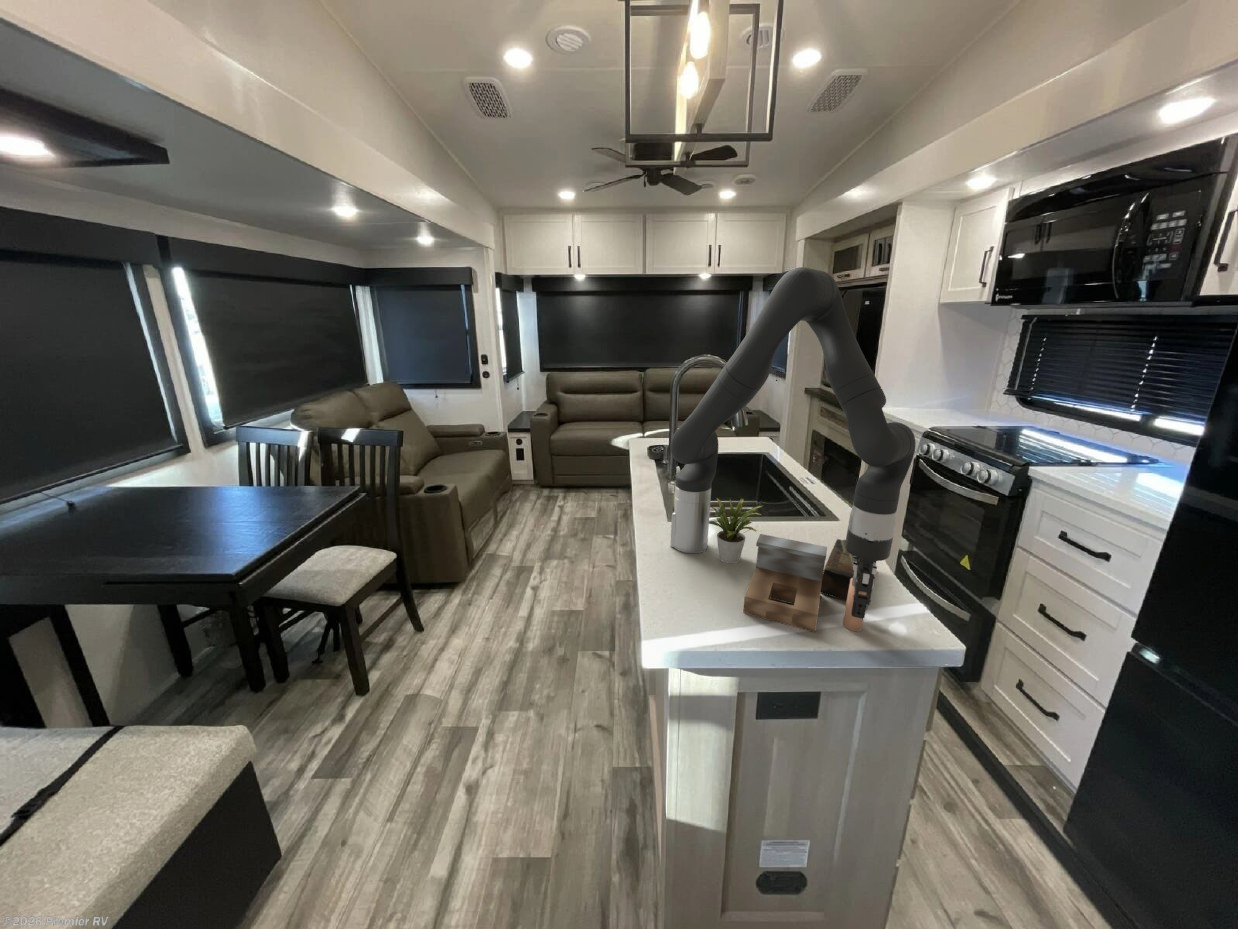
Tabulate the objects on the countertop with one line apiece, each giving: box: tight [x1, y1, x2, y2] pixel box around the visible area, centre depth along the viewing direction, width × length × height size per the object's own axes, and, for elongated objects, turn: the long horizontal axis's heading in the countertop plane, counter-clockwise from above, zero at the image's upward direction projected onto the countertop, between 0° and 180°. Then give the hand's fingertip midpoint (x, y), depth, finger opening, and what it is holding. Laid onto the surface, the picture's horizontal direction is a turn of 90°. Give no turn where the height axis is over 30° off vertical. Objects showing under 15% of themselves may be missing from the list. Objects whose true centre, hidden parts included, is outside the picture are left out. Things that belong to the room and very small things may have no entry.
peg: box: [842, 578, 866, 632], centre depth 89 cm, size 3×3×10 cm
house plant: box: [708, 497, 763, 564], centre depth 113 cm, size 14×14×16 cm
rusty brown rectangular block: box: [820, 538, 853, 602], centre depth 106 cm, size 8×19×7 cm, turn 147°
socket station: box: [742, 533, 828, 633], centre depth 96 cm, size 14×14×12 cm
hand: (857, 604), depth 89 cm, fingers open, 8 cm apart
